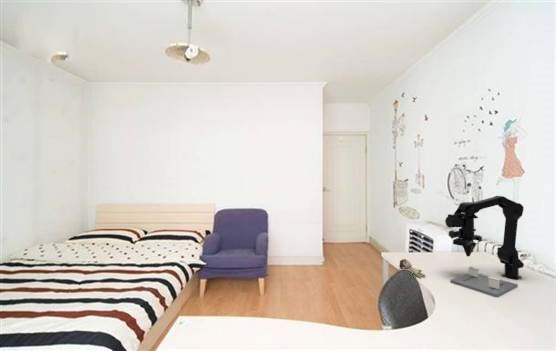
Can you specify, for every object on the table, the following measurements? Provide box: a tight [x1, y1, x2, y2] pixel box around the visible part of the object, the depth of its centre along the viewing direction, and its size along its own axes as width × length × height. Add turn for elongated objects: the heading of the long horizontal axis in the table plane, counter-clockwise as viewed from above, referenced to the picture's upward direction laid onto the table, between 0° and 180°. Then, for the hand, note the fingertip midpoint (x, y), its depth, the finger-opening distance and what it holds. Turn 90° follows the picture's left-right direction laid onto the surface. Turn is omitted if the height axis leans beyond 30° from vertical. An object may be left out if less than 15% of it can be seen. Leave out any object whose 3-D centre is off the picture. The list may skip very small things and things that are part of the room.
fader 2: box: [488, 276, 501, 289], centre depth 130 cm, size 2×4×4 cm, turn 30°
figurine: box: [399, 258, 427, 279], centre depth 153 cm, size 8×6×15 cm
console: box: [449, 272, 519, 298], centre depth 137 cm, size 22×20×2 cm
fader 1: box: [468, 266, 479, 277], centre depth 144 cm, size 2×4×4 cm, turn 30°
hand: (468, 256), depth 145 cm, fingers closed
